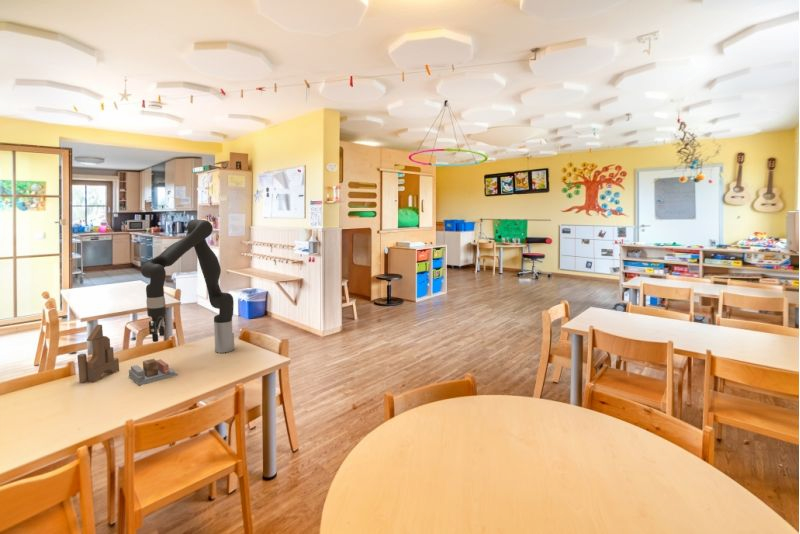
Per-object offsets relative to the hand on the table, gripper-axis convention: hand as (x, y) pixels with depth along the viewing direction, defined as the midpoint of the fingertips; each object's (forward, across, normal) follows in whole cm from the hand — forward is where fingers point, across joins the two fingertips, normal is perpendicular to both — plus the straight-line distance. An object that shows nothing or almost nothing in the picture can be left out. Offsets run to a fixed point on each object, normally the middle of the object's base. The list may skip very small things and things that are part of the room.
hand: (158, 338), depth 188 cm
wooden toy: (+17, 0, +26) cm, 31 cm away
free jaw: (+16, -1, -1) cm, 16 cm away
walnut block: (+16, -4, +3) cm, 17 cm away
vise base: (+17, -4, +2) cm, 18 cm away
